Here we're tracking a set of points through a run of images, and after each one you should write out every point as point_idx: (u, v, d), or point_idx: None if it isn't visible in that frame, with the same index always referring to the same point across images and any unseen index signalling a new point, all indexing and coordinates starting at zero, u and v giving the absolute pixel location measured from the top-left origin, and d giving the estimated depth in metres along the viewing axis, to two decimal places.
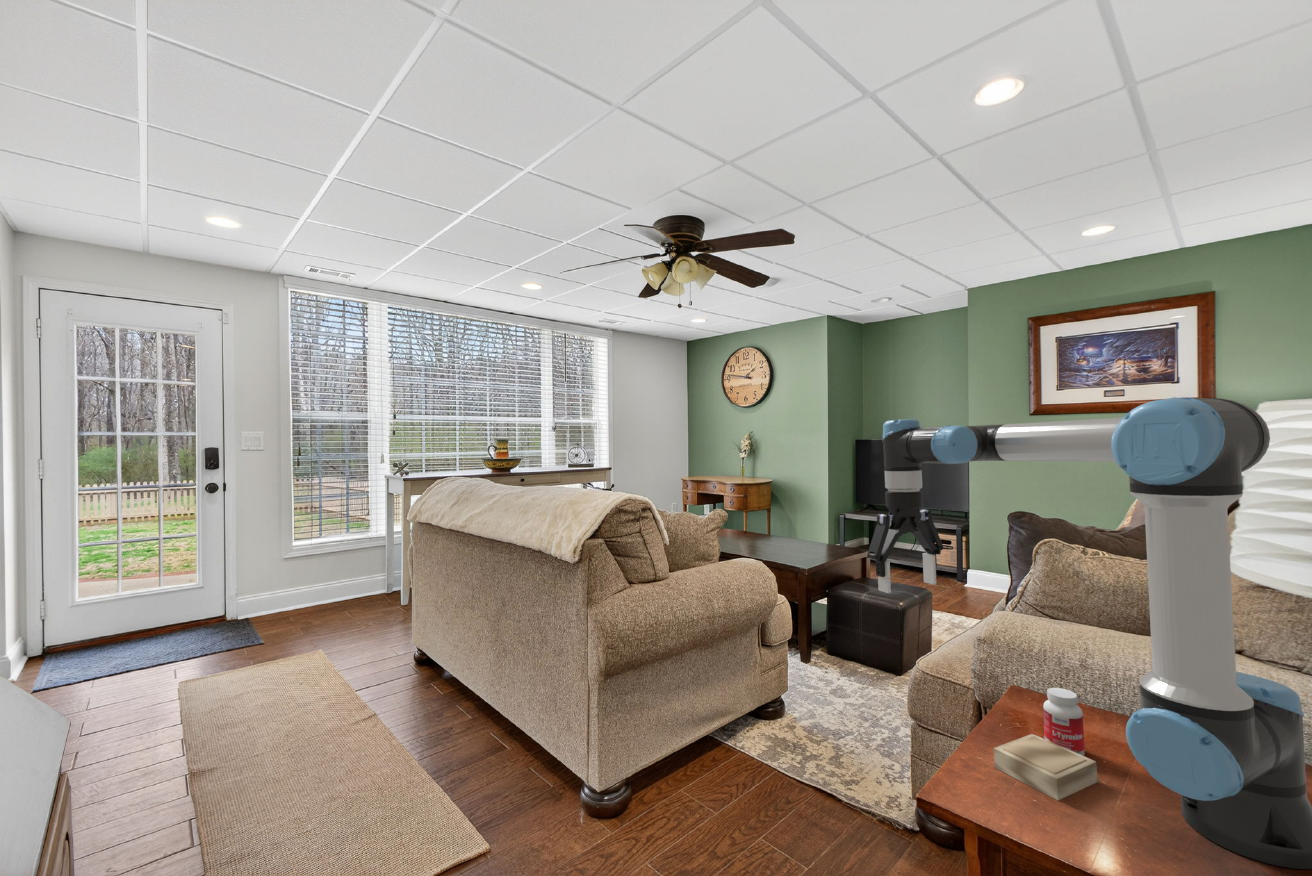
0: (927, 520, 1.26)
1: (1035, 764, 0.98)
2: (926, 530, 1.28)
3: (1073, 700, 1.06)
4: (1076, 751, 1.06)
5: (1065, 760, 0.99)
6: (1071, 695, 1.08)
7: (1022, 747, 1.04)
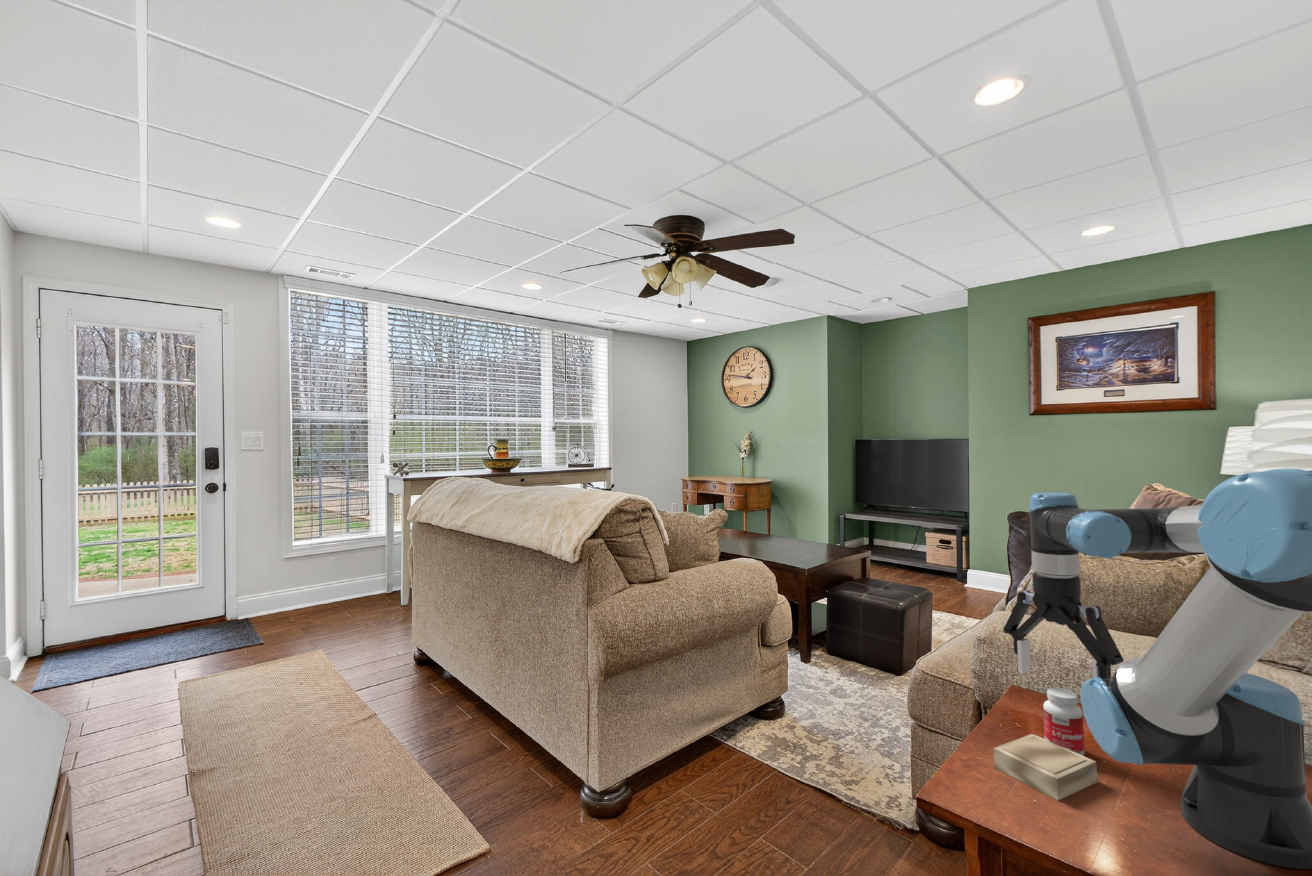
0: None
1: (1035, 764, 0.98)
2: None
3: (1073, 700, 1.06)
4: (1076, 751, 1.06)
5: (1065, 760, 0.99)
6: (1071, 695, 1.08)
7: (1022, 747, 1.04)
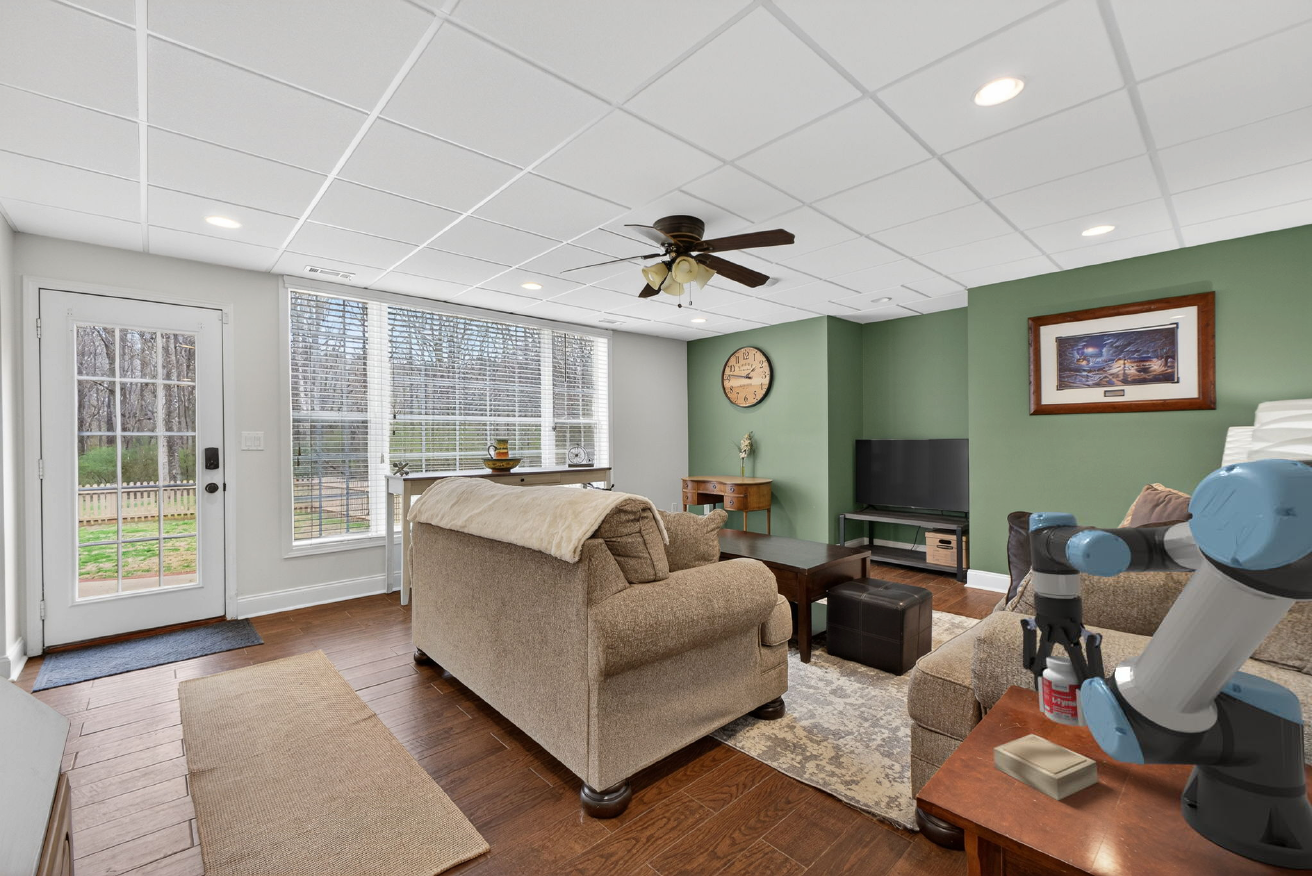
0: None
1: (1035, 764, 0.98)
2: None
3: (1072, 666, 1.06)
4: (1076, 717, 1.05)
5: (1065, 760, 0.99)
6: (1070, 661, 1.07)
7: (1022, 747, 1.04)
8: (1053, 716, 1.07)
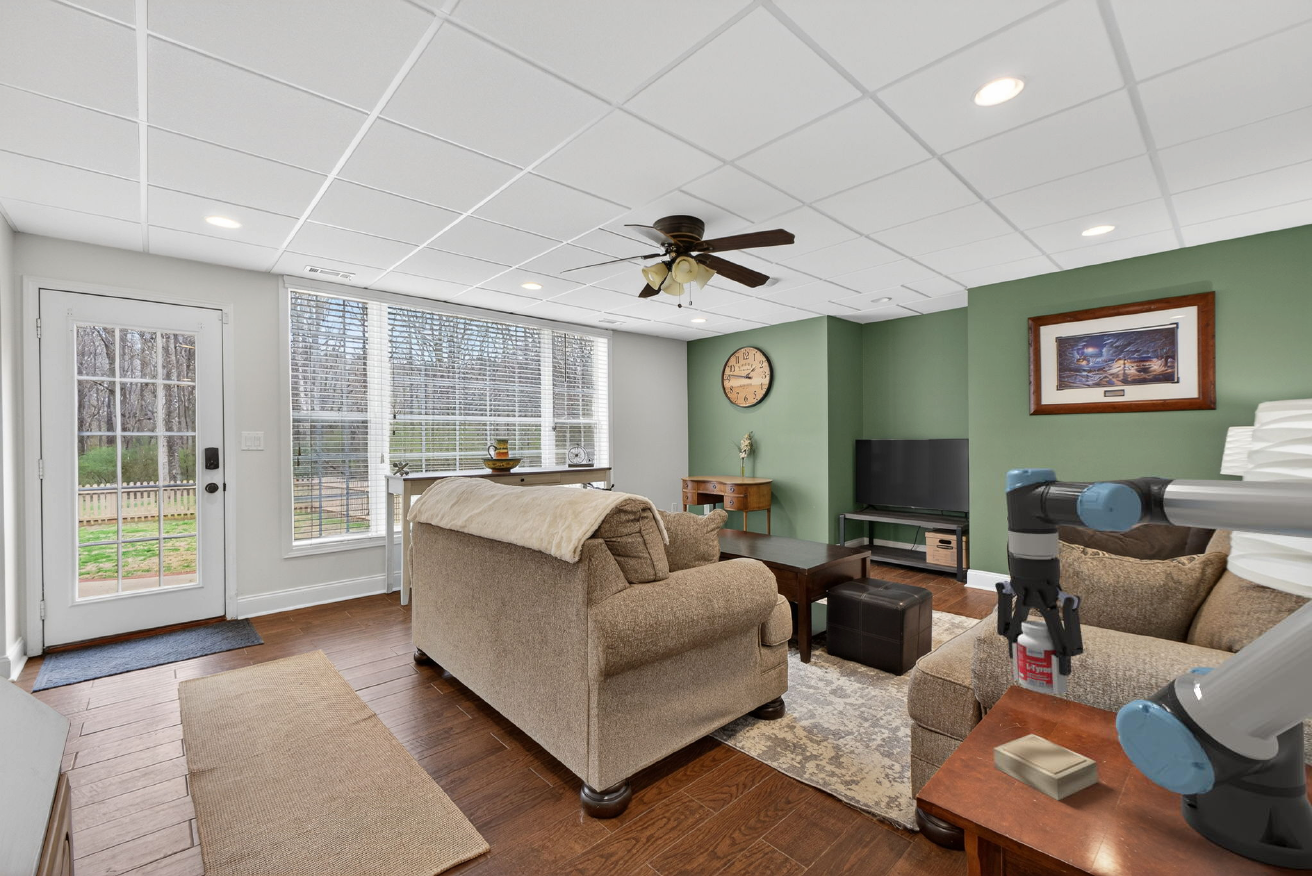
0: None
1: (1035, 764, 0.98)
2: None
3: None
4: (1051, 685, 0.99)
5: (1065, 760, 0.99)
6: (1046, 626, 1.01)
7: (1022, 747, 1.04)
8: (1027, 683, 1.00)
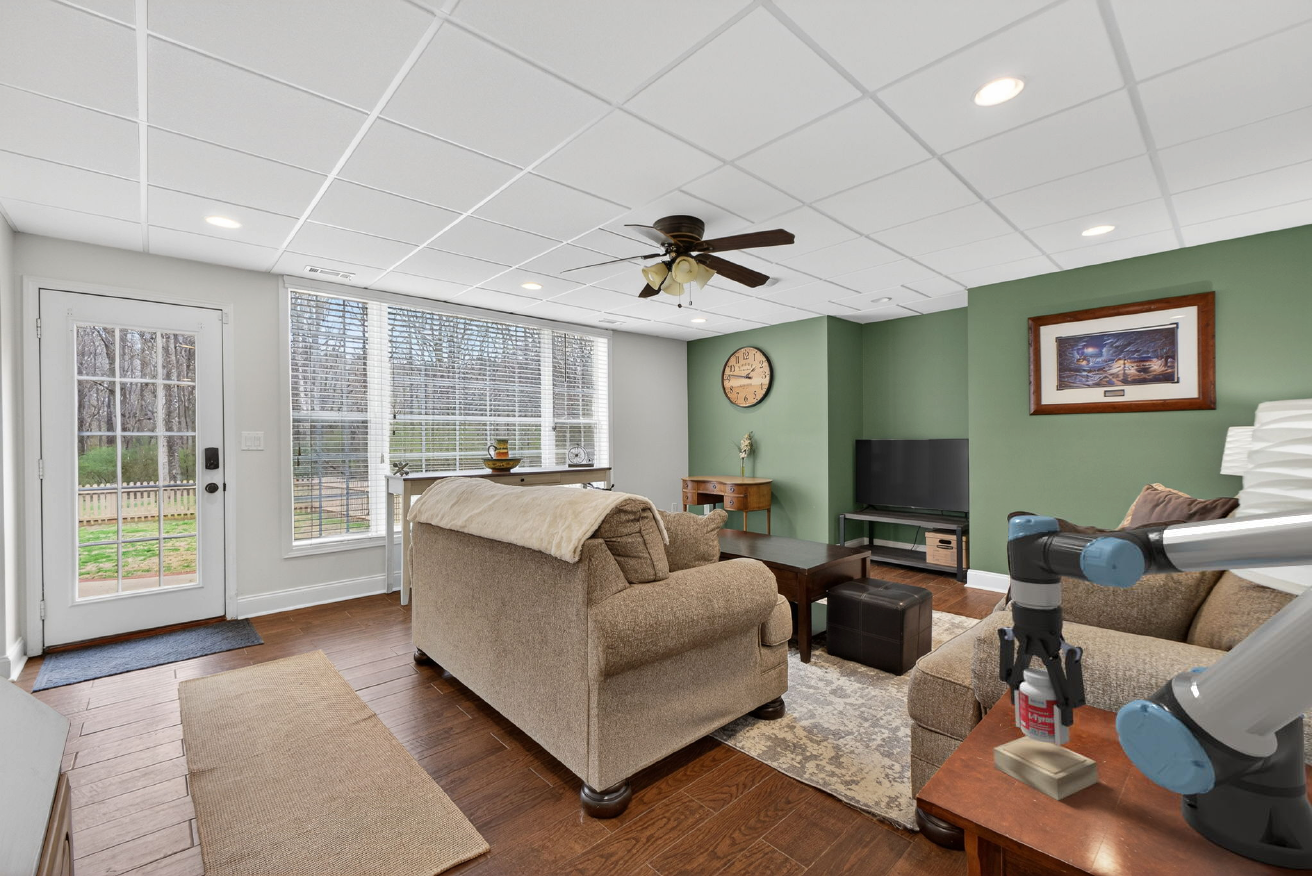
0: None
1: (1035, 764, 0.98)
2: None
3: (1050, 680, 0.99)
4: (1053, 735, 0.98)
5: (1065, 760, 0.99)
6: None
7: (1022, 747, 1.04)
8: (1029, 732, 1.00)
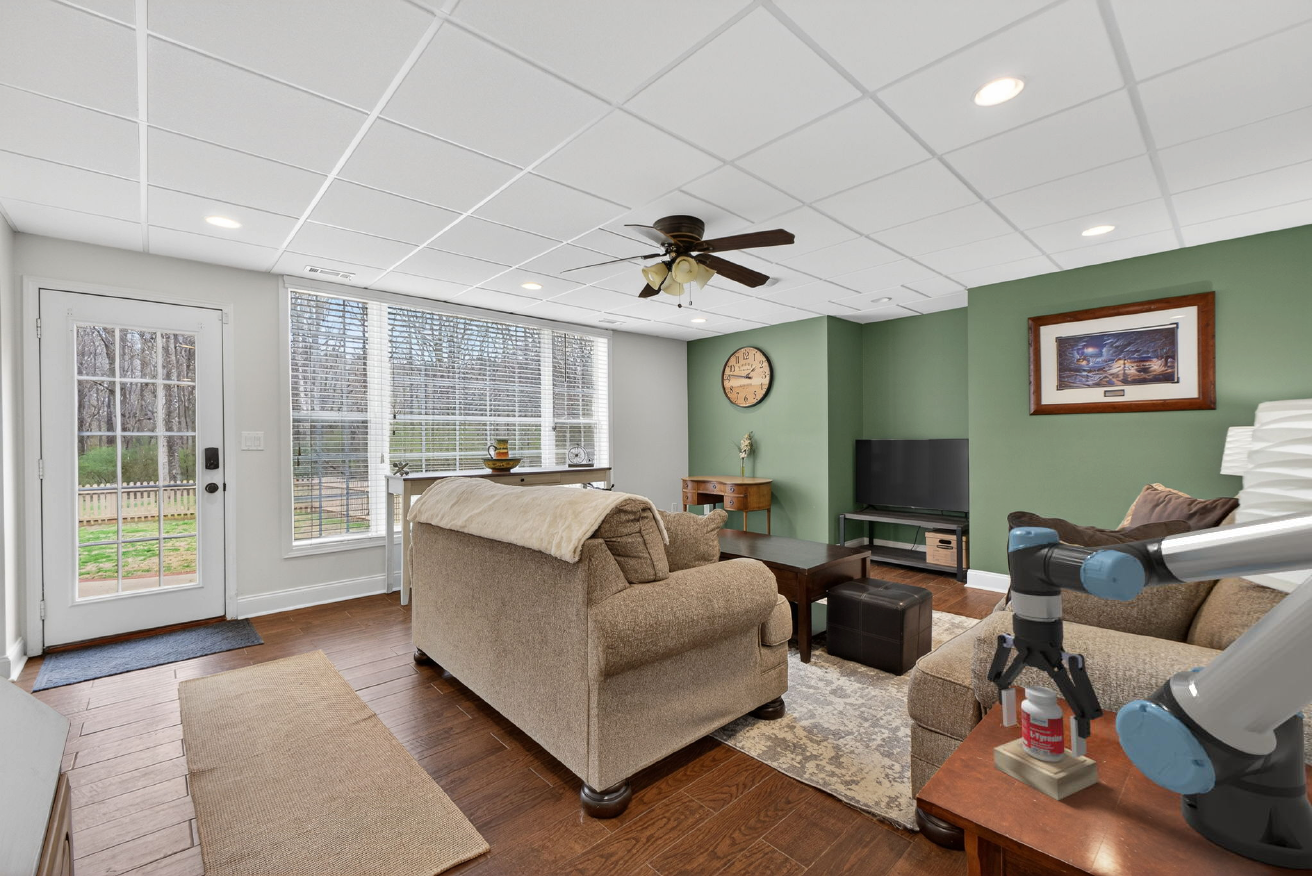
0: None
1: (1035, 764, 0.98)
2: None
3: (1052, 698, 0.99)
4: (1055, 754, 0.98)
5: (1065, 760, 0.99)
6: (1050, 693, 1.00)
7: (1022, 747, 1.04)
8: (1031, 751, 1.00)
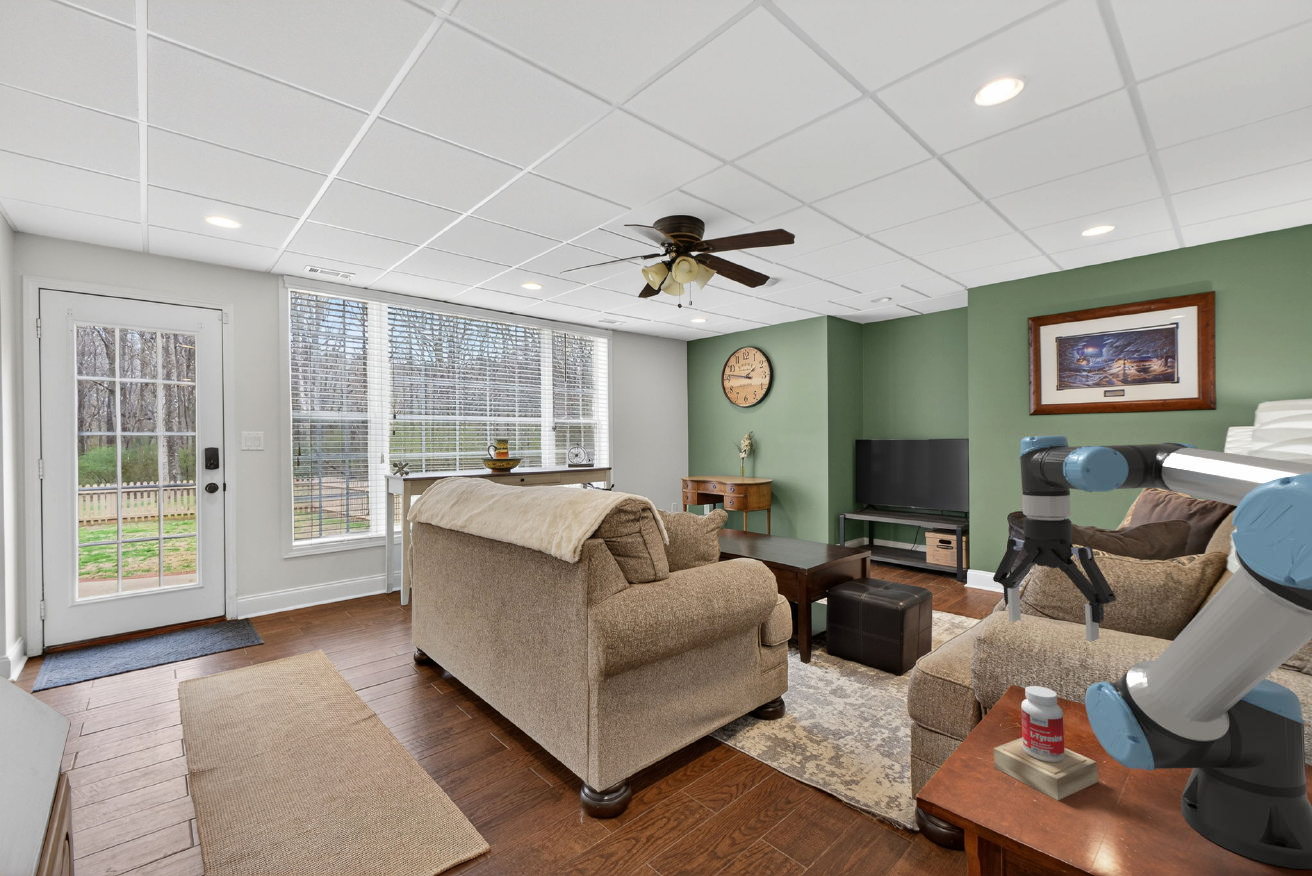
0: None
1: (1035, 764, 0.98)
2: None
3: (1052, 699, 0.99)
4: (1055, 754, 0.98)
5: (1065, 760, 0.99)
6: (1050, 694, 1.00)
7: (1022, 747, 1.04)
8: (1031, 751, 1.00)
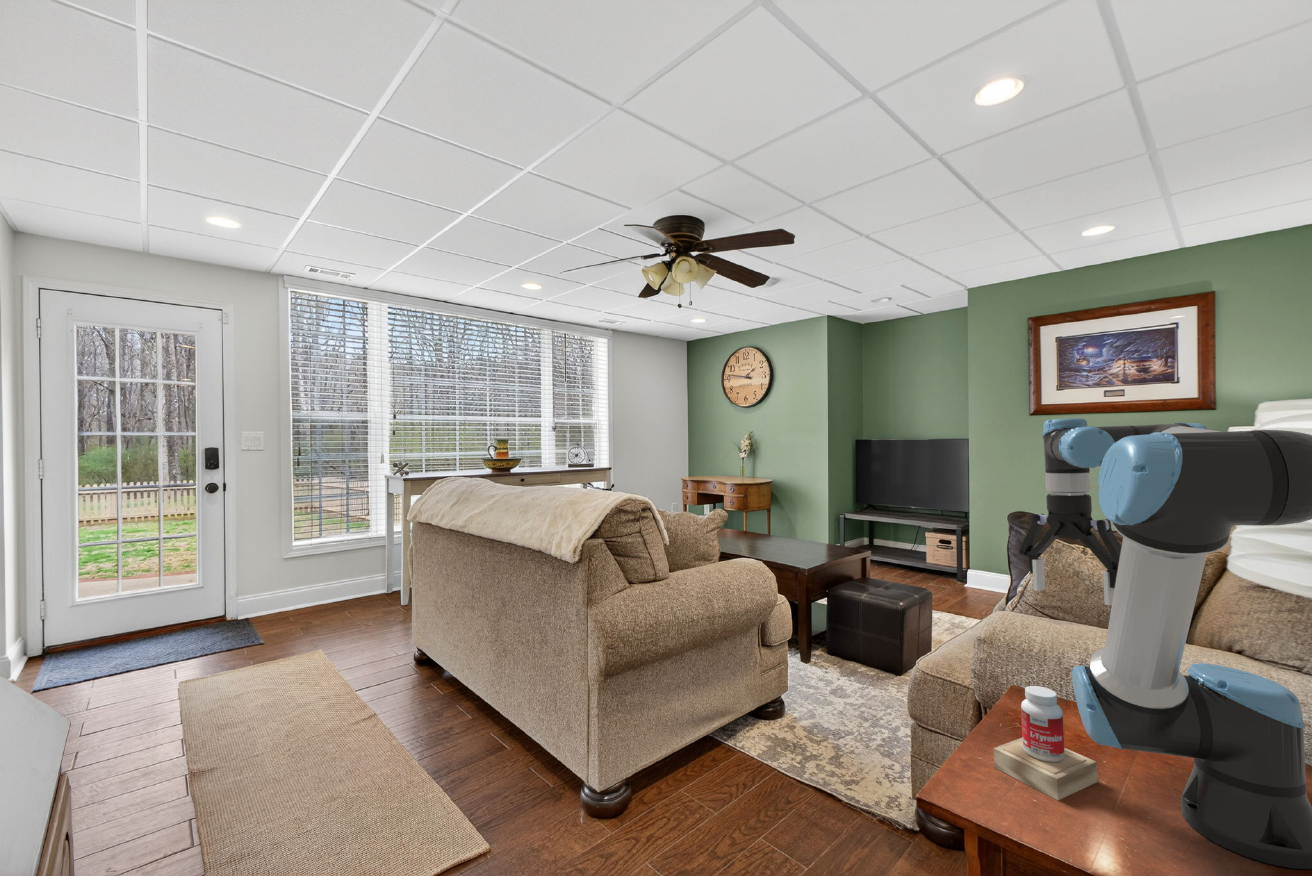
0: None
1: (1035, 764, 0.98)
2: None
3: (1052, 699, 0.99)
4: (1055, 754, 0.98)
5: (1065, 760, 0.99)
6: (1050, 693, 1.00)
7: (1022, 747, 1.04)
8: (1031, 751, 1.00)
